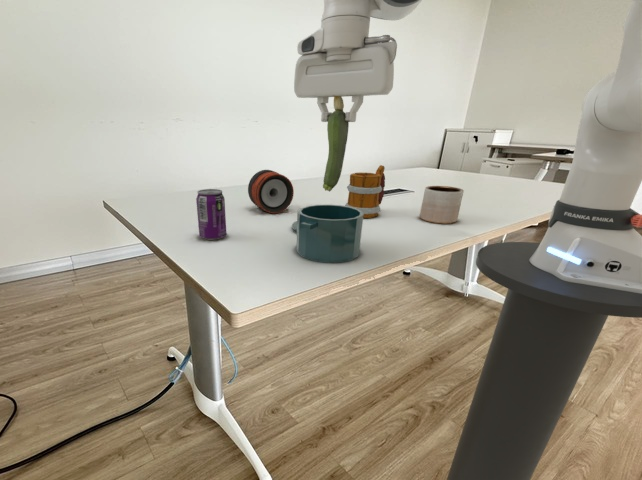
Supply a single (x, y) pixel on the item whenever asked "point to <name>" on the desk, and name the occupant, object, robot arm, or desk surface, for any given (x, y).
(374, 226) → the desk surface
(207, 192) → the beverage can
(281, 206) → the oil filter
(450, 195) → the planter
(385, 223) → the desk surface
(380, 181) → the mug
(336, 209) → the pot
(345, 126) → the vegetable
